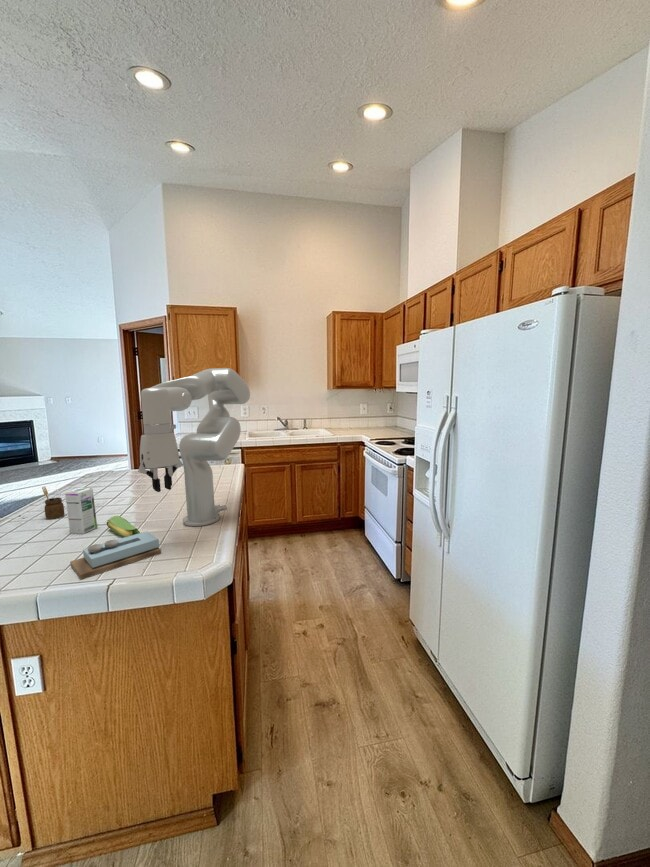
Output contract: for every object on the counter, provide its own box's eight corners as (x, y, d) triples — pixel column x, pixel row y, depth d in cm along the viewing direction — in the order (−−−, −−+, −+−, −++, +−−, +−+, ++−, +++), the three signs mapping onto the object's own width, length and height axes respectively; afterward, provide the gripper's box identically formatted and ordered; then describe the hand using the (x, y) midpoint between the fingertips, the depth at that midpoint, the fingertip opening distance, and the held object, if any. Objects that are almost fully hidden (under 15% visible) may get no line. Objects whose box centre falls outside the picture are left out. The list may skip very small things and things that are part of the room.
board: (147, 542, 114) (145, 526, 114) (161, 553, 107) (159, 535, 106) (70, 565, 100) (68, 546, 100) (80, 579, 93) (78, 559, 92)
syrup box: (83, 534, 123) (79, 492, 121) (69, 533, 124) (64, 491, 122) (97, 527, 128) (93, 487, 126) (83, 527, 129) (79, 486, 127)
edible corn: (120, 513, 130) (106, 513, 127) (145, 528, 117) (130, 528, 114) (117, 528, 130) (103, 528, 126) (141, 544, 117) (126, 545, 113)
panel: (147, 538, 114) (147, 531, 113) (159, 546, 107) (158, 539, 107) (83, 557, 102) (82, 549, 101) (92, 568, 95) (91, 559, 95)
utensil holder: (57, 519, 138) (53, 488, 136) (40, 519, 138) (37, 488, 136) (68, 514, 143) (65, 484, 142) (52, 514, 144) (49, 484, 142)
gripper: (179, 426, 117) (183, 482, 120) (124, 431, 106) (130, 493, 108) (189, 428, 112) (193, 486, 114) (133, 433, 101) (139, 498, 103)
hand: (162, 489), depth 111 cm, fingers open, 2 cm apart
